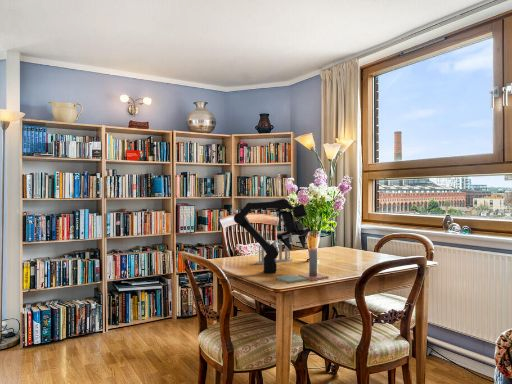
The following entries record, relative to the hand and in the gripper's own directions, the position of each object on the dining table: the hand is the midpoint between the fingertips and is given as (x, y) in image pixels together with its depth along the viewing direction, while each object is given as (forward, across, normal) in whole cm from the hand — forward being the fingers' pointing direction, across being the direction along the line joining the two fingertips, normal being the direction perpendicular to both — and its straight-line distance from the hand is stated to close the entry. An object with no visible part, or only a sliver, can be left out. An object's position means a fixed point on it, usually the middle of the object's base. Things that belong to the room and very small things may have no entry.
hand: (297, 248), depth 214 cm
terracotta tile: (+15, -9, +6) cm, 18 cm away
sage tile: (+11, -4, +17) cm, 21 cm away
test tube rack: (+9, +32, -15) cm, 37 cm away
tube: (+14, -9, +6) cm, 17 cm away
